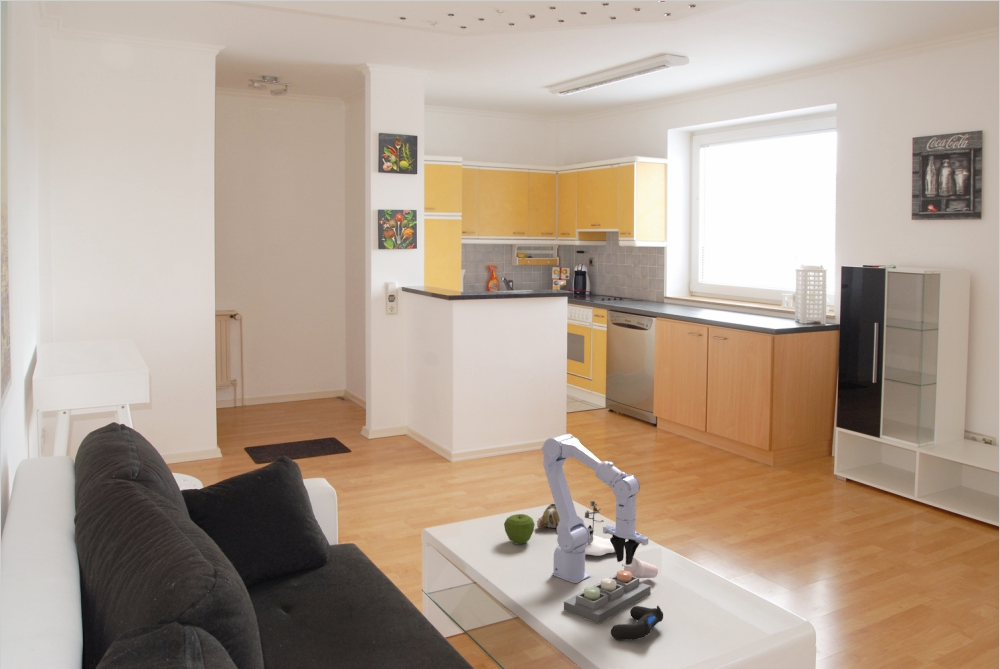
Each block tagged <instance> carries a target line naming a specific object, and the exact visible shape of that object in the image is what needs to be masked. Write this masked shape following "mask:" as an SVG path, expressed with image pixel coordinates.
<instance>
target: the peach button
mask: <svg viewBox="0 0 1000 669" xmlns="http://www.w3.org/2000/svg"><path fill="white" fill-rule="evenodd" d="M616 574H617V581H620V582H623V583H629V582H631V581H632V573H631V572H629V571H624V570H618V571H617V572H616Z"/></svg>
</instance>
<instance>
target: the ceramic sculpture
mask: <svg viewBox="0 0 1000 669" xmlns="http://www.w3.org/2000/svg"><path fill="white" fill-rule="evenodd" d="M559 522H560V519H559V516H558V512H557V509H556V506H555V502H554V501H553V502H552V503H550V504H548V506H546V508H545V510H544V511H543V513H542V516H541V517H539V518H538V520H537V523H536V526H537V528H538V529H543V528H545V527H548V528H550V527H551V528H552V529H555V528H556V529H557V526H558V524H559ZM551 528H550V529H551Z"/></svg>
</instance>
